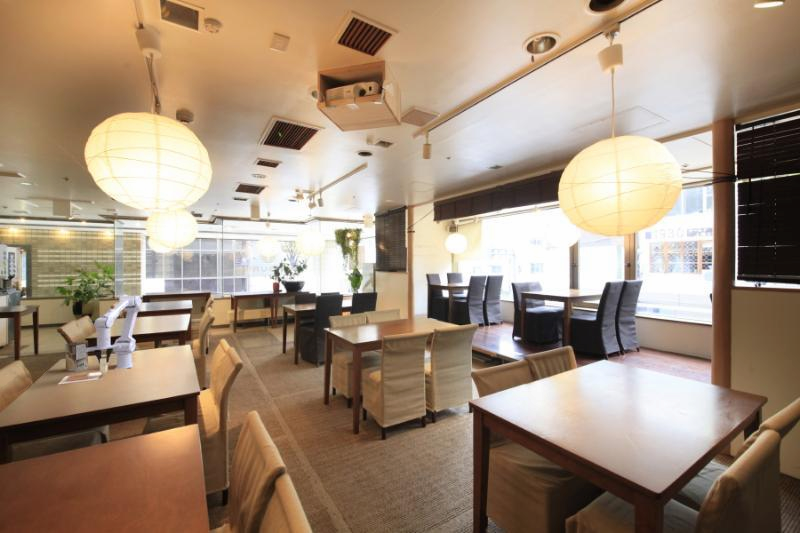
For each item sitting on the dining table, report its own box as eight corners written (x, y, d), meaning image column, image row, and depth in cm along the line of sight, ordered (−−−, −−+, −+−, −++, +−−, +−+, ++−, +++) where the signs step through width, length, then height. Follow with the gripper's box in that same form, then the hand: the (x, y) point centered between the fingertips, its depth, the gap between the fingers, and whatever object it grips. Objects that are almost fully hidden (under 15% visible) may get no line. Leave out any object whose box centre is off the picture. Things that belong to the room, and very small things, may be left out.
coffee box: (88, 369, 203) (88, 342, 202) (76, 372, 197) (76, 345, 196) (77, 367, 205) (77, 341, 205) (64, 370, 199) (64, 344, 198)
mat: (65, 377, 189) (65, 376, 189) (103, 372, 197) (103, 371, 197) (57, 385, 177) (57, 384, 177) (97, 379, 186) (97, 379, 186)
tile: (70, 375, 186) (66, 378, 181) (89, 373, 190) (86, 376, 185) (70, 378, 186) (66, 381, 181) (89, 375, 190) (86, 379, 185)
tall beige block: (102, 369, 192) (102, 356, 192) (108, 369, 194) (107, 355, 193) (100, 373, 187) (99, 359, 187) (105, 372, 189) (105, 358, 188)
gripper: (84, 341, 182) (84, 366, 183) (119, 338, 190) (119, 362, 190) (87, 339, 188) (88, 363, 188) (121, 336, 196) (121, 359, 196)
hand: (103, 362), depth 190 cm, fingers closed on tall beige block, 2 cm apart
